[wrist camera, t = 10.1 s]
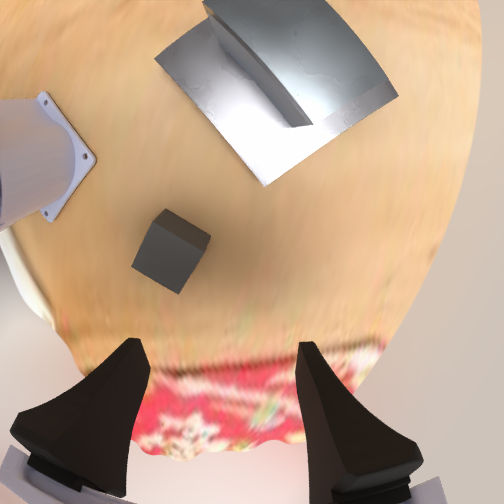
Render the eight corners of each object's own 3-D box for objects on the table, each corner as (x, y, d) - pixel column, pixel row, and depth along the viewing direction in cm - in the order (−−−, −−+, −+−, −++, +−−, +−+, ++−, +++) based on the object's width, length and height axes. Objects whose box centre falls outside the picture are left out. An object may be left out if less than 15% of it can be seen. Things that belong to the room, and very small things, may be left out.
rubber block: (145, 249, 21) (131, 266, 18) (165, 208, 20) (152, 221, 17) (186, 274, 22) (178, 294, 19) (210, 235, 20) (204, 252, 18)
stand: (165, 66, 15) (153, 58, 13) (289, -12, 12) (293, -28, 10) (263, 180, 18) (264, 187, 16) (382, 98, 16) (398, 95, 13)
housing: (292, 127, 15) (314, 124, 9) (219, 43, 12) (202, 1, 7) (343, 94, 14) (388, 78, 8) (272, 11, 11) (281, -39, 6)
